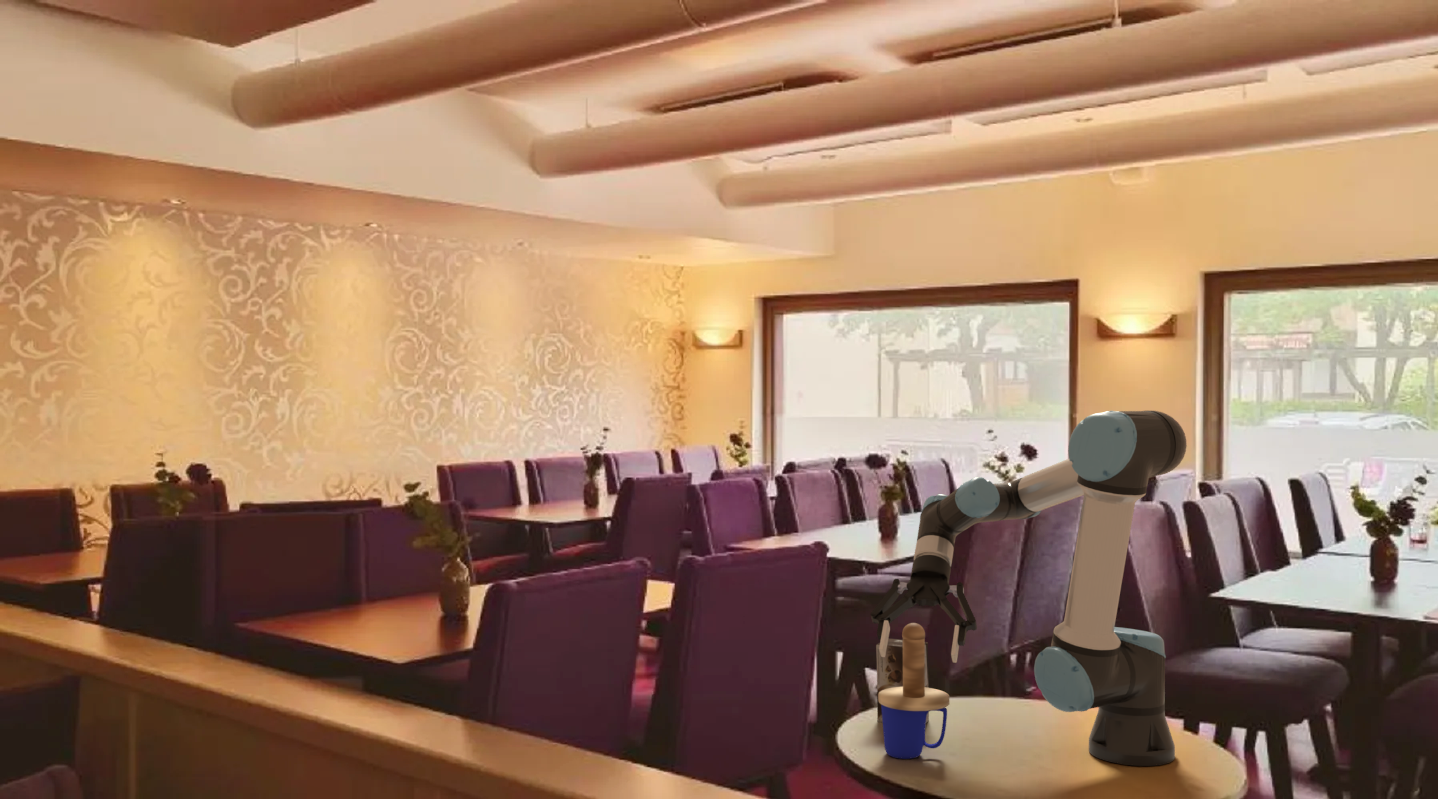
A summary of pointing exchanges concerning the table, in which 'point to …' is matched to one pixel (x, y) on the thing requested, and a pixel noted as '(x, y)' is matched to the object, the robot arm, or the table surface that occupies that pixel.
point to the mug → (907, 732)
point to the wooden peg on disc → (913, 678)
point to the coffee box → (893, 669)
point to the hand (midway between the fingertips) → (917, 656)
